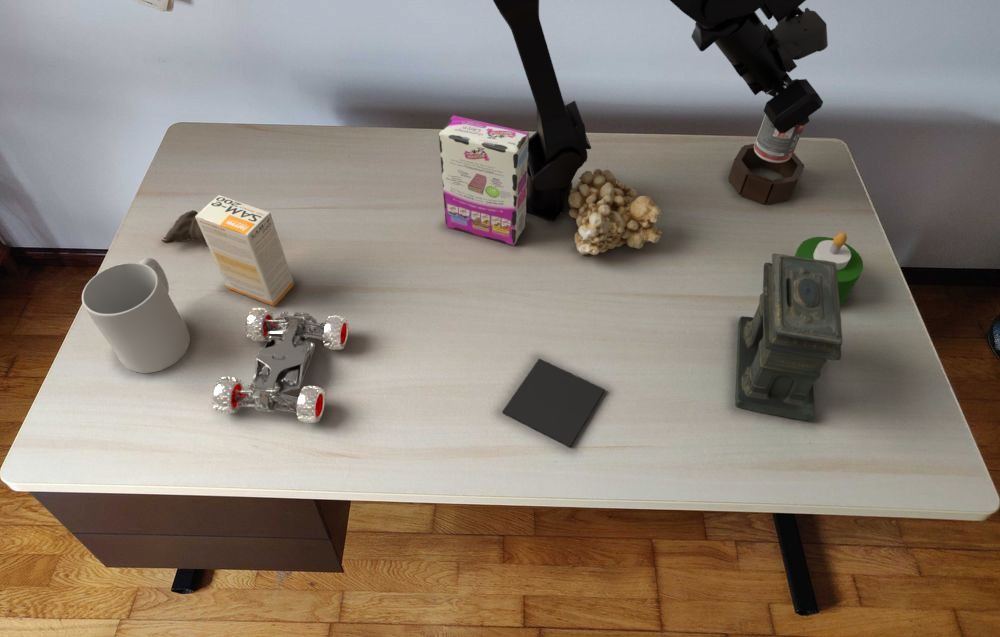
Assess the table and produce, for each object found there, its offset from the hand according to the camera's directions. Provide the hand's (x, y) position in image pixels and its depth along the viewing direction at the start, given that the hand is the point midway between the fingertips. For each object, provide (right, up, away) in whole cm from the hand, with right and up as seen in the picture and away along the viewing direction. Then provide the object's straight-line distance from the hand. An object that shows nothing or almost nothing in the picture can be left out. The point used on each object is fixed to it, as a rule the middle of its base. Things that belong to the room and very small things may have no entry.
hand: (797, 111), depth 100 cm
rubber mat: (-36, -40, -17) cm, 56 cm away
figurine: (-85, -18, +1) cm, 87 cm away
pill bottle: (-1, -5, +5) cm, 7 cm away
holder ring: (-1, -8, +10) cm, 13 cm away
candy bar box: (-45, -16, +3) cm, 48 cm away
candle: (+1, -26, -4) cm, 26 cm away
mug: (-86, -32, -10) cm, 92 cm away
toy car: (-69, -37, -14) cm, 79 cm away
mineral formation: (-27, -17, +3) cm, 32 cm away
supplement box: (-75, -25, -5) cm, 80 cm away
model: (-9, -36, -13) cm, 40 cm away
